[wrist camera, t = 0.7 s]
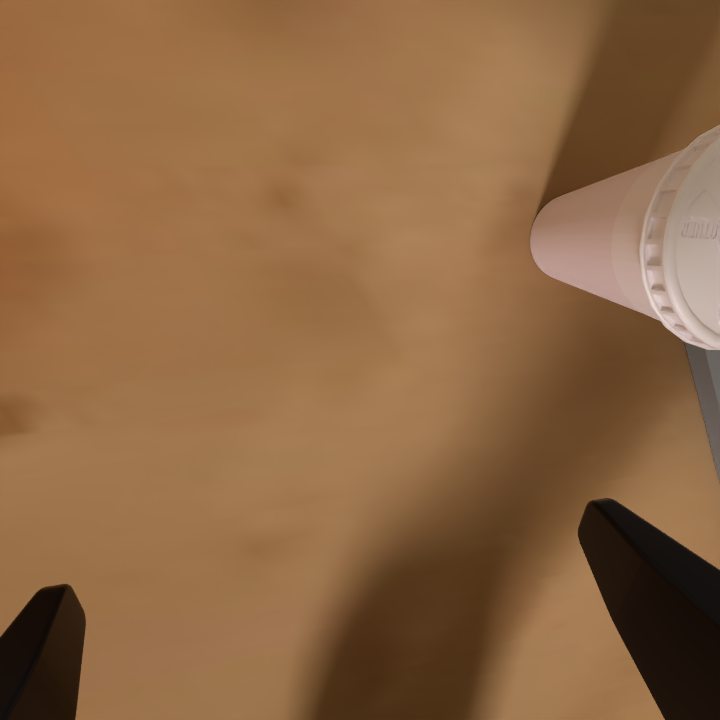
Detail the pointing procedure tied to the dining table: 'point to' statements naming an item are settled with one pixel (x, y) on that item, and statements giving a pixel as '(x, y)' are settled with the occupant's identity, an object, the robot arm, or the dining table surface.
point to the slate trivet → (708, 392)
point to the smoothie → (645, 240)
